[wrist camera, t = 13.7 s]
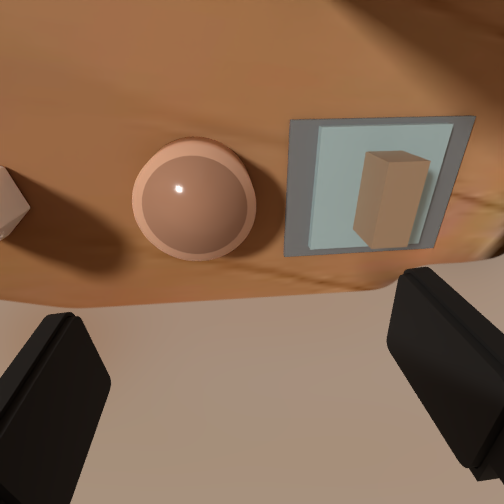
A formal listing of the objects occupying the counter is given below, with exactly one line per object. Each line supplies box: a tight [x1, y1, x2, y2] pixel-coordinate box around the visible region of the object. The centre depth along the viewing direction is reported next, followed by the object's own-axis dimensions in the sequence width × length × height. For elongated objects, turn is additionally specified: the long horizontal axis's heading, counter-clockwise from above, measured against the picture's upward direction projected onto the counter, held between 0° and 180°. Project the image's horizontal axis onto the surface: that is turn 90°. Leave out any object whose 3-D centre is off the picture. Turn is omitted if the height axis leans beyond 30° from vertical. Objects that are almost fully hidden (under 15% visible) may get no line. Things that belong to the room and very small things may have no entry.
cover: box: [308, 123, 453, 250], centre depth 32 cm, size 14×14×6 cm
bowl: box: [132, 137, 256, 261], centre depth 32 cm, size 12×12×5 cm
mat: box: [284, 116, 476, 257], centre depth 35 cm, size 20×16×1 cm
